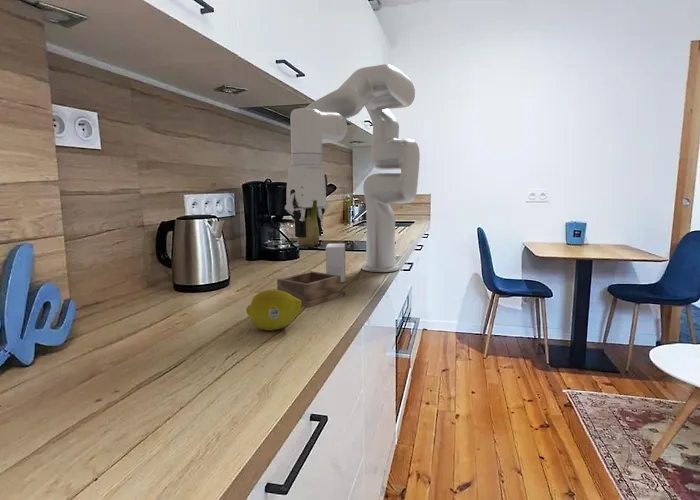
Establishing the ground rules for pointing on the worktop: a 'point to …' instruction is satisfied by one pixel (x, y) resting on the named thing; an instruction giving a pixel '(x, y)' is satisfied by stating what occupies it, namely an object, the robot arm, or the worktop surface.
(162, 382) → the worktop surface
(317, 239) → the fennel bulb
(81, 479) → the worktop surface
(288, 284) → the open wooden box
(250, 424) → the worktop surface
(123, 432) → the worktop surface
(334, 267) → the small box
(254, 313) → the lemon
